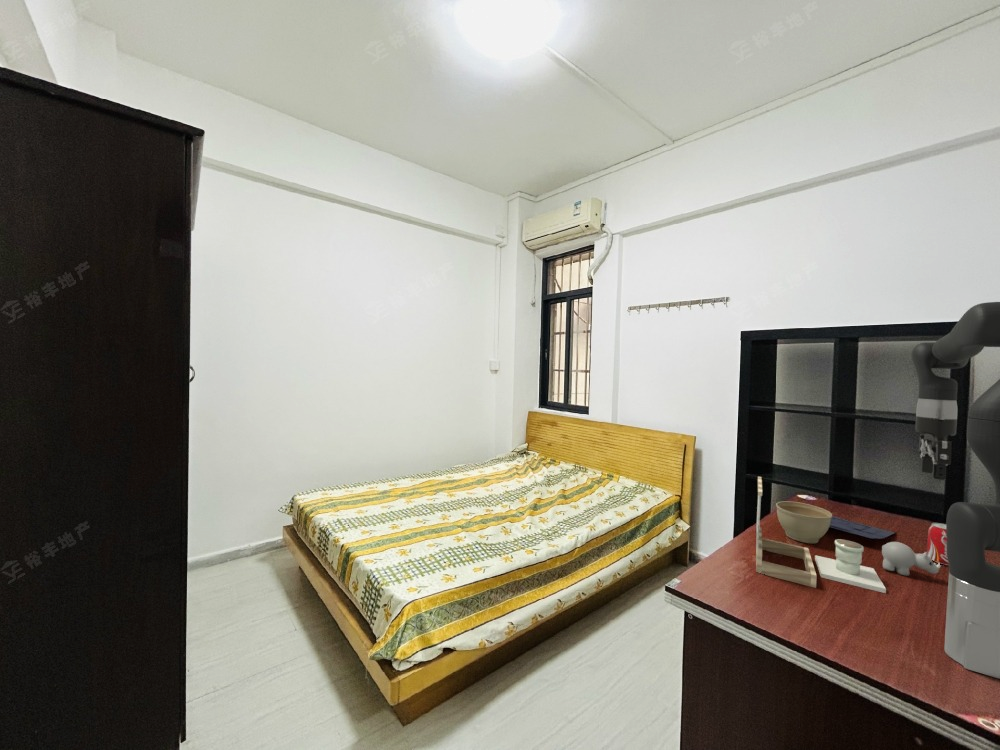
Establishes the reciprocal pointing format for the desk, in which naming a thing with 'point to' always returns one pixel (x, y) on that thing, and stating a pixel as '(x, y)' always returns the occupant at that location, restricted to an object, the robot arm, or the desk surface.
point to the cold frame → (785, 549)
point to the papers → (858, 528)
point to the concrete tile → (864, 579)
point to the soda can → (937, 543)
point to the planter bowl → (803, 521)
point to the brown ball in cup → (848, 556)
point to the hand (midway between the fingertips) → (932, 475)
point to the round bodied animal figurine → (905, 559)
